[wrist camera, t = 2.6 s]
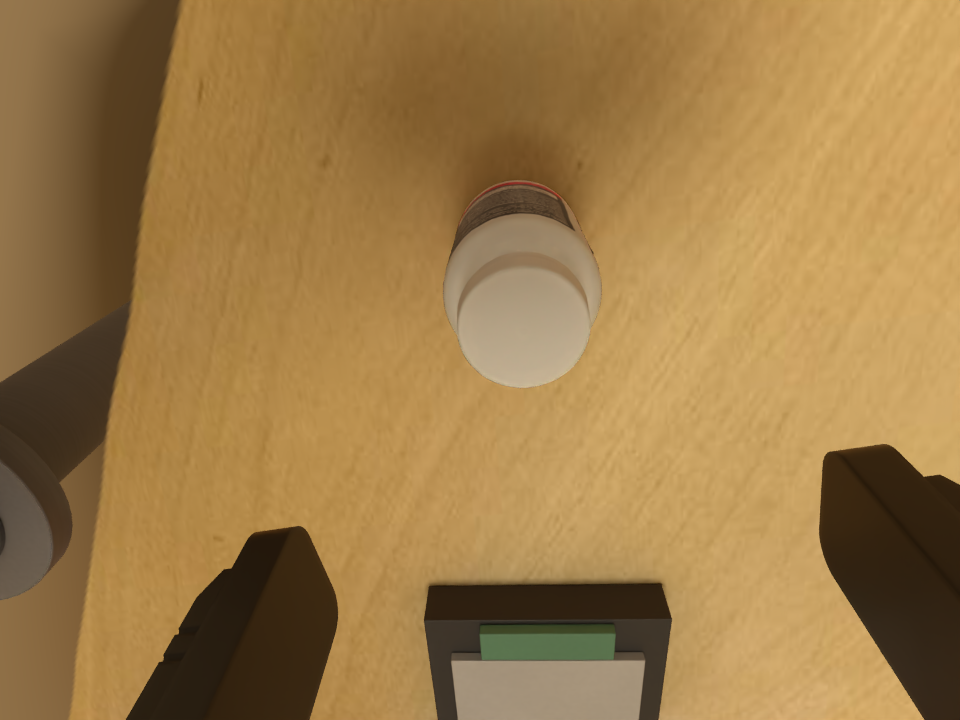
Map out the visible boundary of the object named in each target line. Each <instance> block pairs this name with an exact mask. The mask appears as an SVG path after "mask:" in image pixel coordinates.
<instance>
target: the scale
mask: <svg viewBox="0 0 960 720" xmlns="http://www.w3.org/2000/svg"><path fill="white" fill-rule="evenodd" d="M671 622H672V618H671V615H670V611H669V608H668V605H667V601H666V598H665V595H664V591H663V588H662V585H661V584H637V585H526V586H429V590H428V597H427V604H426V610H425V617H424V624H425V631H426V638H427V645H428V652H429V659H430V666H431V673H432V681H433V688H434V695H435V702H436V709H437V716H438V720H658V719H659V711H660V704H661V696H662V689H663V682H664V674H665V667H666V659H667V652H668V644H669V637H670V630H671Z"/></svg>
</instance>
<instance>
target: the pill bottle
mask: <svg viewBox="0 0 960 720" xmlns="http://www.w3.org/2000/svg"><path fill="white" fill-rule="evenodd" d="M601 295H602V284H601V277H600V272H599V267H598V264H597V261H596V259H595V257H594V255H593V251H592V250H591V248H590V246H589V244H588V242H587V240H586V238H585V236H584V234H583V232H582V230H581V228H580V225H579V223H578V221H577V219H576V218H575V215H574V213H573V212H572V210H571V209H570V207H569V206H568V204H567V203H566V202H565V200H564V199H563V198H562V197H561V196H560V195H558V194H557V193H556V192H555V191H553V190H552V189H550V188H548V187H546V186H544V185H542V184H540V183H536V182H532V181H527V180H510V181H505V182H502V183H498V184H495V185H493V186H491V187H489V188H487V189H485V190H484V191H483V192H481V193H480V194H479V195H478V196H476V197H475V198H474V199H473V200H472V201H471V203H470V204H469V205H468V207H467V208H466V210H465V212H464V214H463V215H462V217H461V220H460V222H459V225H458V229H457V232H456V236H455V240H454V244H453V247H452V250H451V254H450V257H449V261H448V264H447V267H446V272H445V277H444V282H443V299H444V307H445V311H446V314H447V317H448V320H449V322H450V324H451V326H452V328H453V330H454V332H455V333H456V334H457V337H458V341H459V345H460V348H461V350H462V352H463V354H464V356H465V358H466V359H467V361H468V362H469V363H470V365H471V366H472V367H473V368H474V369H475V370H476V371H477V372H478V373H480V374H481V375H482V376H484V377H485V378H487V379H489V380H491V381H493V382H495V383H498V384H501V385H504V386H508V387H515V388H530V387H536V386H541V385H544V384H547V383H549V382H552V381H554V380H556V379H558V378H560V377H561V376H563V375H564V374H566V373H567V372H568V371H569V370H570V369H571V368H572V367H573V366H574V365H575V364H576V363H577V362H578V360H579V359H580V358H581V356H582V354H583V353H584V351H585V348H586V346H587V343H588V340H589V336H590V329H591V327H592V325H593V323H594V321H595V319H596V317H597V314H598V311H599V307H600V303H601Z"/></svg>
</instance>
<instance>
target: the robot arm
mask: <svg viewBox="0 0 960 720" xmlns="http://www.w3.org/2000/svg"><path fill="white" fill-rule="evenodd" d="M819 536H820V543H821V548H822V551H823V555H824V558H825V561H826V563H827V565H828V568H829V570H830V572H831V574H832V575H833V577H834V579H835V580H836V582H837V583H838V585H839V587H840V588H841V590H842V591H843V593H844V594H845V596H846V598H847V599H848V601H849V602H850V604H851V605H852V607H853V608H854V610H855V612H856V613H857V615H858V616H859V618H860V619H861V621H862V623H863V624H864V626H865V627H866V629H867V630H868V632H869V634H870V635H871V637H872V638H873V640H874V641H875V643H876V644H877V646H878V648H879V649H880V651H881V652H882V654H883V655H884V657H885V659H886V660H887V662H888V663H889V665H890V666H891V668H892V670H893V671H894V673H895V674H896V676H897V677H898V679H899V681H900V682H901V684H902V685H903V687H904V688H905V690H906V691H907V693H908V695H909V696H910V698H911V699H912V701H913V702H914V704H915V706H916V707H917V709H918V710H919V712H920V713H921V715H922V717H923V718H924V720H960V485H959V484H957V483H955V482H953V481H951V480H949V479H948V478H946V477H944V476H942V475H934V476H927V477H923V476H922V475H921V474H920V473H919V472H918V471H917V470H916V469H915V468H914V467H913V466H912V465H911V464H910V463H909V462H908V461H907V460H906V459H905V458H904V457H903V456H902V455H901V454H900V453H899V452H898V451H897V450H896V449H895V448H893V447H892V446H890V445H887V444H881V445H874V446H867V447H860V448H853V449H846V450H839V451H832V452H828V453H827V454H826V455H825V457H824V460H823V470H822V488H821V506H820V524H819ZM4 546H5V530H4V526H3V523H2V520H1V518H0V555H1V553H2V551H3V549H4ZM337 621H338V606H337V599H336V595H335V591H334V589H333V587H332V584H331V582H330V580H329V578H328V576H327V573H326V571H325V569H324V567H323V565H322V562H321V560H320V558H319V556H318V554H317V551H316V549H315V547H314V545H313V543H312V540H311V538H310V536H309V534H308V532H307V531H306V530H305V529H304V528H303V527H301V526H296V527H289V528H282V529H275V530H268V531H261V532H256V533H253V534H252V535H251V536H250V537H249V538H248V540H247V541H246V543H245V545H244V547H243V549H242V550H241V552H240V554H239V556H238V558H237V560H236V561H235V563H234V565H233V567H232V569H224V570H223V571H222V572H221V573H220V574H219V575H218V576H217V577H216V578H215V579H214V580H213V581H212V582H211V583H210V584H209V585H208V586H207V587H206V588H205V589H204V591H203V592H202V593H201V594H200V595H199V596H198V597H197V598H196V600H195V601H194V603H193V605H192V606H191V608H190V610H189V612H188V613H187V615H186V617H185V619H184V620H183V622H182V624H181V625H180V627H179V634H178V635H175V636H174V637H173V639H172V641H171V643H170V644H169V646H168V648H167V650H166V651H165V653H164V655H163V656H164V660H163V662H159V663H158V665H157V667H156V669H155V670H154V672H153V674H152V675H151V677H150V679H149V681H148V682H147V684H146V686H145V687H144V689H143V691H142V693H141V694H140V696H139V698H138V700H137V701H136V703H135V705H134V706H133V708H132V710H131V712H130V713H129V715H128V717H127V718H126V720H309V719H310V716H311V713H312V709H313V706H314V703H315V699H316V696H317V693H318V689H319V686H320V683H321V679H322V676H323V673H324V669H325V666H326V663H327V659H328V656H329V653H330V649H331V646H332V643H333V639H334V636H335V632H336V628H337Z"/></svg>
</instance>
